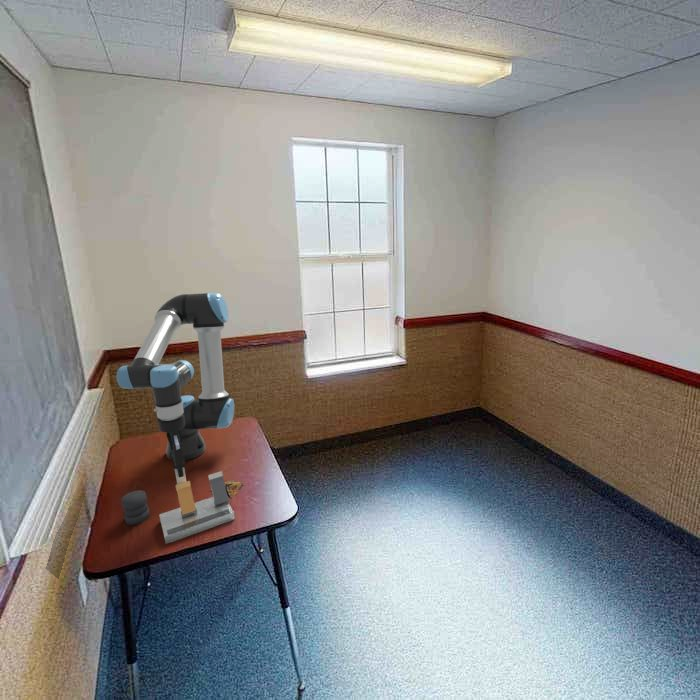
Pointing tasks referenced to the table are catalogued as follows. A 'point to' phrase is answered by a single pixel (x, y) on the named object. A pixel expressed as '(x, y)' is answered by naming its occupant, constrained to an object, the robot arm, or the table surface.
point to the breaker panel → (194, 519)
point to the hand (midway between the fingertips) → (181, 483)
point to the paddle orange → (185, 498)
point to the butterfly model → (233, 487)
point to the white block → (218, 488)
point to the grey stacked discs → (135, 507)
